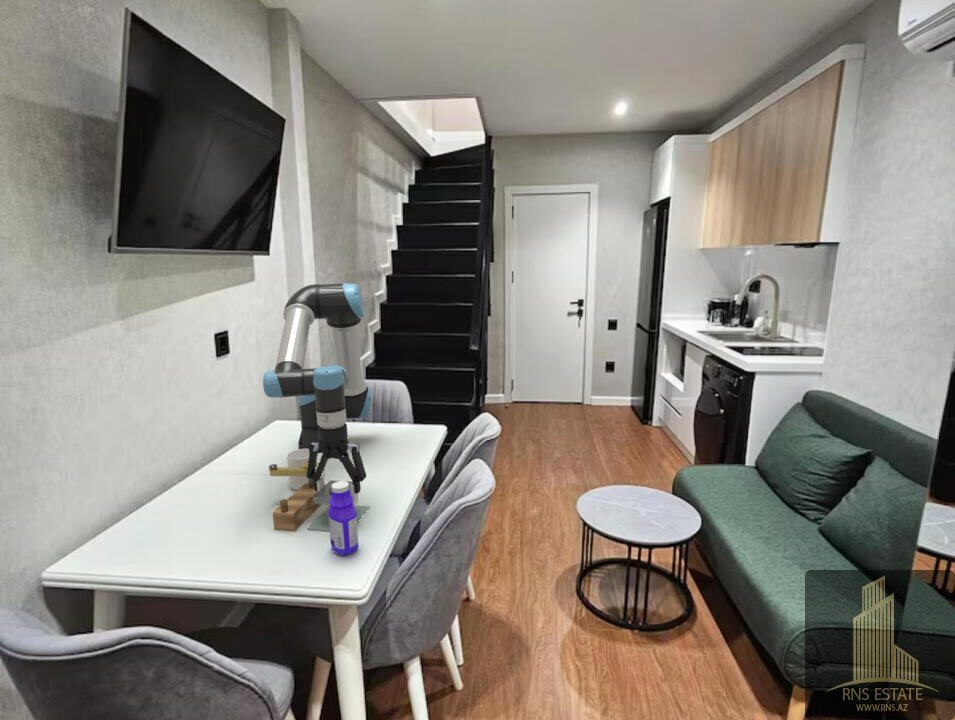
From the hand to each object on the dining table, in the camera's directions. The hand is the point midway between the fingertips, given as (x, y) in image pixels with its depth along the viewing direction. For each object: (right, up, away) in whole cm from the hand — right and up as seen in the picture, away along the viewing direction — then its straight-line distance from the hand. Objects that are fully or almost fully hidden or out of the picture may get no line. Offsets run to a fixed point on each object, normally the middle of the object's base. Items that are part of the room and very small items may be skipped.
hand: (338, 502), depth 138 cm
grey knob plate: (0, +2, 0) cm, 2 cm away
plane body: (-12, -4, +4) cm, 13 cm away
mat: (0, -5, +1) cm, 5 cm away
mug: (-15, -1, +22) cm, 27 cm away
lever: (-16, +6, +9) cm, 19 cm away
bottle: (+6, -8, -14) cm, 17 cm away
